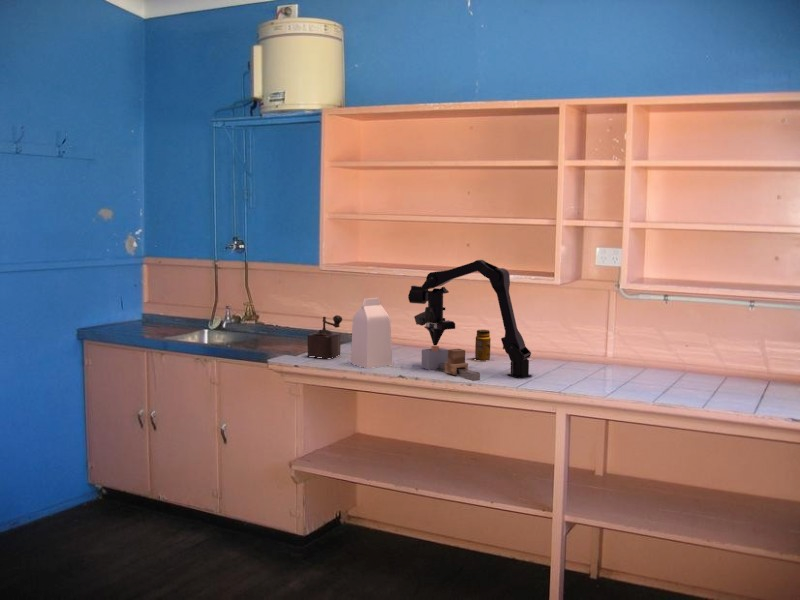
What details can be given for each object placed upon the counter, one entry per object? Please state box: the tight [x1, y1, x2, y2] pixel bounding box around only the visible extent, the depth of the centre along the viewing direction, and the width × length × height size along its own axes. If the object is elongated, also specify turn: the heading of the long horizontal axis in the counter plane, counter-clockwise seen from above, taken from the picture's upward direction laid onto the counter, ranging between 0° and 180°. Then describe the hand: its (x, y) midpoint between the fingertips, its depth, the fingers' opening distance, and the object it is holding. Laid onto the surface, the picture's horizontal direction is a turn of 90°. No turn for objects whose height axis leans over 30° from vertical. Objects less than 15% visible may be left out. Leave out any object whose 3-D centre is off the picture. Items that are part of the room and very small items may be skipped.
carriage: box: [444, 348, 469, 376], centre depth 295 cm, size 6×6×8 cm
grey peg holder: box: [421, 347, 449, 371], centre depth 307 cm, size 5×9×7 cm, turn 121°
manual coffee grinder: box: [307, 314, 343, 359], centre depth 328 cm, size 16×11×18 cm
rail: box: [435, 363, 481, 381], centre depth 294 cm, size 22×6×2 cm, turn 31°
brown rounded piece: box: [430, 345, 440, 351], centre depth 307 cm, size 3×3×3 cm
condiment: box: [467, 329, 494, 362], centre depth 325 cm, size 7×8×12 cm
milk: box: [350, 297, 394, 369], centre depth 311 cm, size 12×12×26 cm
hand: (435, 345), depth 306 cm, fingers closed
